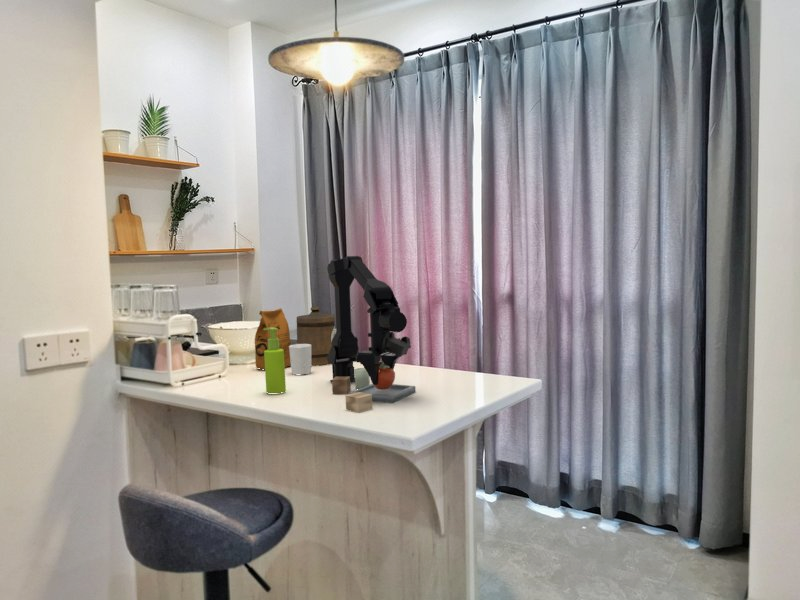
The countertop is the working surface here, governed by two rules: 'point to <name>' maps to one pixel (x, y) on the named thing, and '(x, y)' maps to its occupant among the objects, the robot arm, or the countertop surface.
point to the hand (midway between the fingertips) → (382, 382)
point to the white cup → (300, 358)
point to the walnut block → (341, 385)
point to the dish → (387, 392)
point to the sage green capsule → (361, 378)
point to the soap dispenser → (274, 364)
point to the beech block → (358, 402)
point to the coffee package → (262, 336)
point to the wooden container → (316, 334)
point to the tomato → (385, 377)
